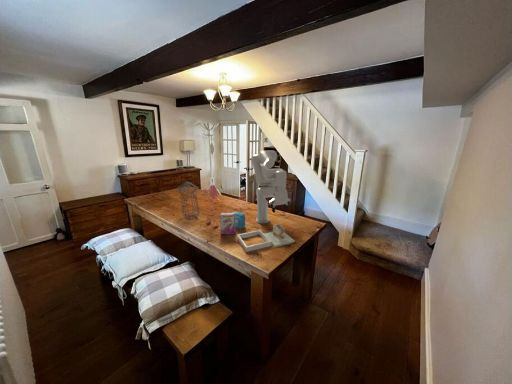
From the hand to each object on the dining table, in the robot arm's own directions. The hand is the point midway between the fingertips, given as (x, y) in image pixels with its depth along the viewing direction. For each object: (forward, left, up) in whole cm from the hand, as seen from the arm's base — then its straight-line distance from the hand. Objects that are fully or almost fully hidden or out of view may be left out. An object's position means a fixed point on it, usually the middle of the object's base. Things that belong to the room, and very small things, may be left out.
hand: (279, 211), depth 141 cm
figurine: (-46, -37, -22) cm, 63 cm away
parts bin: (-3, -19, -22) cm, 29 cm away
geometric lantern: (-67, -56, -22) cm, 90 cm away
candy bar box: (-24, -32, -22) cm, 46 cm away
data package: (-32, -21, -22) cm, 44 cm away
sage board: (0, 0, -22) cm, 22 cm away
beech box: (0, 0, -21) cm, 21 cm away
